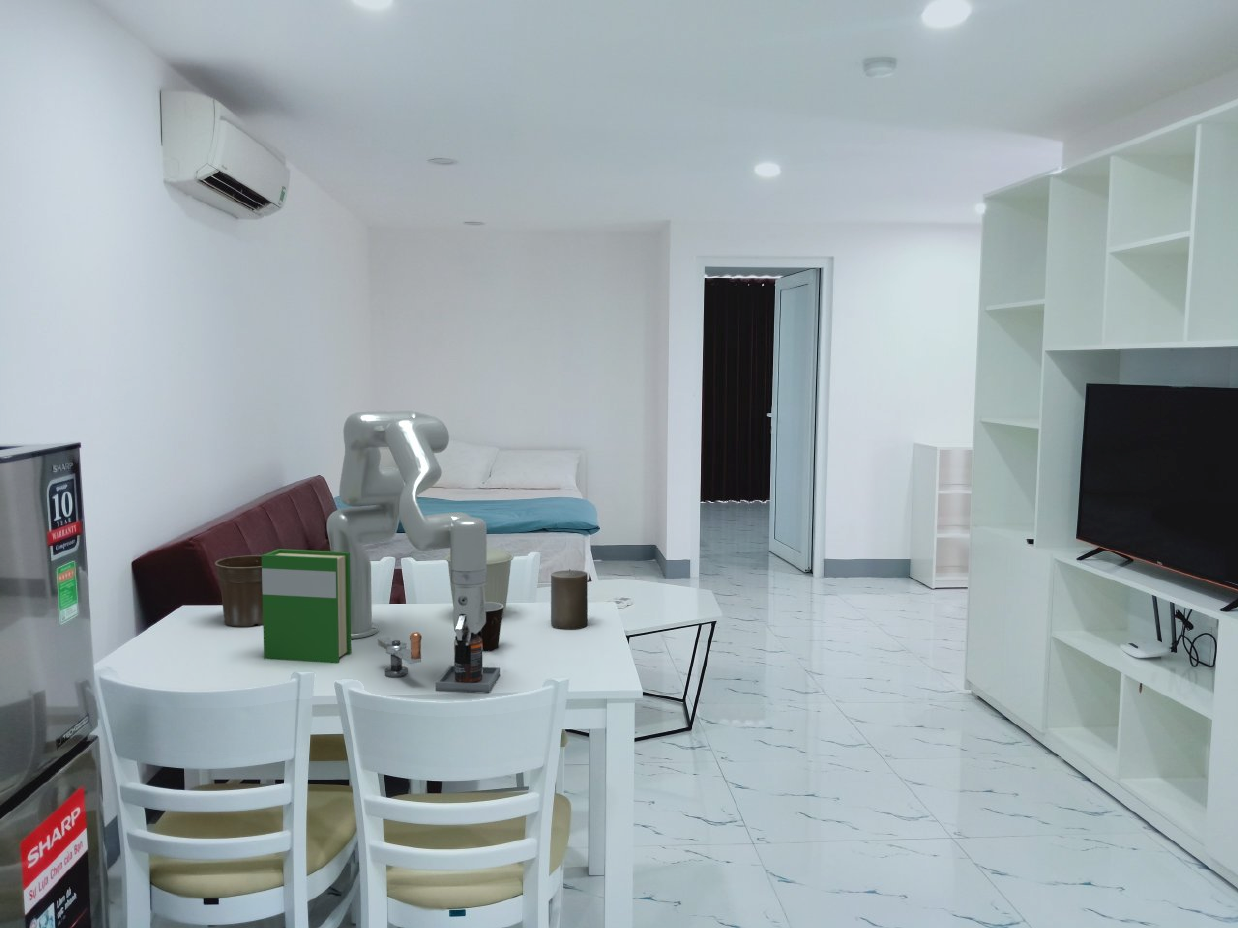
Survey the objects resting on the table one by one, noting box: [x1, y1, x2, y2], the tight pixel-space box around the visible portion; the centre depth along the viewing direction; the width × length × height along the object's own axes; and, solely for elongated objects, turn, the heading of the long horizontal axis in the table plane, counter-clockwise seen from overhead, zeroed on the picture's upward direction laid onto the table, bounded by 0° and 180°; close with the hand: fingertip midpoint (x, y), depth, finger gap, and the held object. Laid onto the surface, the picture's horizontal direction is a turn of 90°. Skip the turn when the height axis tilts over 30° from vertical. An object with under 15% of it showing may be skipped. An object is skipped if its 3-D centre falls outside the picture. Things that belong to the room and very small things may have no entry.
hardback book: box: [261, 548, 353, 664], centre depth 213 cm, size 18×7×24 cm, turn 81°
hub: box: [384, 654, 409, 679], centre depth 202 cm, size 5×5×5 cm
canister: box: [444, 546, 515, 615], centre depth 250 cm, size 18×18×21 cm
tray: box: [435, 665, 501, 694], centre depth 197 cm, size 11×11×2 cm
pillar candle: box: [550, 568, 589, 630], centre depth 243 cm, size 10×10×15 cm
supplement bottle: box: [453, 629, 484, 683], centre depth 197 cm, size 6×6×11 cm
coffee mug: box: [481, 602, 504, 653], centre depth 221 cm, size 12×9×10 cm
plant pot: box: [214, 554, 263, 628], centre depth 242 cm, size 16×16×16 cm
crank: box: [377, 631, 423, 665], centre depth 200 cm, size 18×4×7 cm, turn 37°
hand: (468, 656), depth 197 cm, fingers open, 9 cm apart
